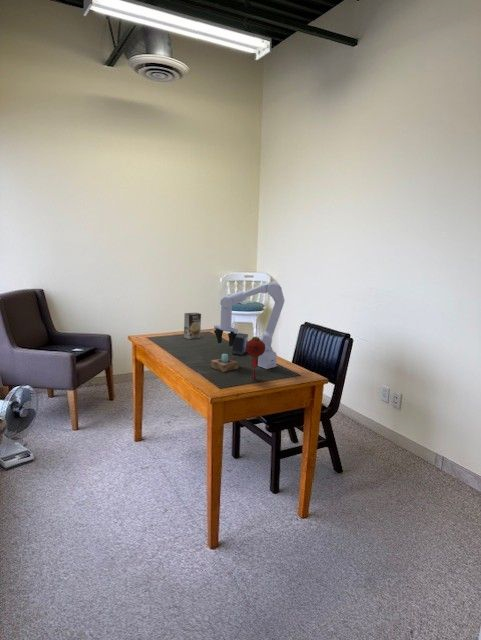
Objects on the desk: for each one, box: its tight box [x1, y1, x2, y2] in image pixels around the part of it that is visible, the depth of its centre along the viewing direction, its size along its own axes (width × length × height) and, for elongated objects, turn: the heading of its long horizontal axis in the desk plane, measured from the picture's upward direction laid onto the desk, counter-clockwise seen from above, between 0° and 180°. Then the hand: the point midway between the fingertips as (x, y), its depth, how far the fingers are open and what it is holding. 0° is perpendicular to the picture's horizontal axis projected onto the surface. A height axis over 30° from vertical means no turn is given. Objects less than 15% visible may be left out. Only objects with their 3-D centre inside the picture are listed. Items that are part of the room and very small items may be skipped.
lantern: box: [246, 320, 265, 380], centre depth 199 cm, size 10×10×30 cm
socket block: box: [210, 357, 239, 373], centre depth 216 cm, size 10×10×4 cm
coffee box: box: [183, 312, 202, 340], centre depth 276 cm, size 9×6×16 cm
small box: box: [231, 332, 249, 356], centre depth 245 cm, size 11×6×10 cm, turn 162°
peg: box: [221, 353, 229, 363], centre depth 216 cm, size 3×3×7 cm
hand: (225, 344), depth 224 cm, fingers open, 7 cm apart
